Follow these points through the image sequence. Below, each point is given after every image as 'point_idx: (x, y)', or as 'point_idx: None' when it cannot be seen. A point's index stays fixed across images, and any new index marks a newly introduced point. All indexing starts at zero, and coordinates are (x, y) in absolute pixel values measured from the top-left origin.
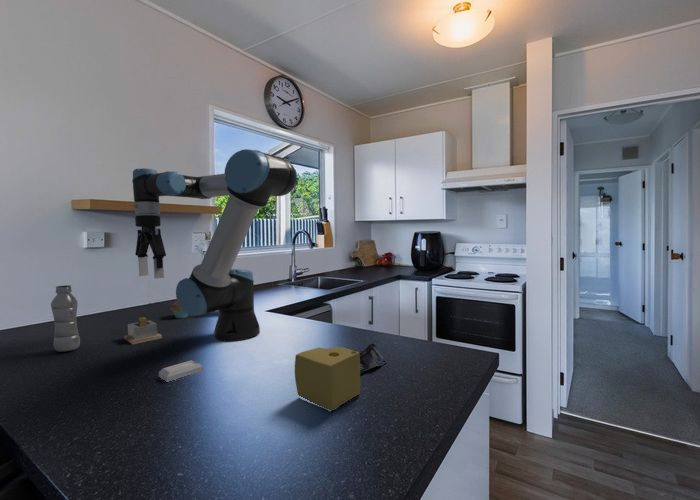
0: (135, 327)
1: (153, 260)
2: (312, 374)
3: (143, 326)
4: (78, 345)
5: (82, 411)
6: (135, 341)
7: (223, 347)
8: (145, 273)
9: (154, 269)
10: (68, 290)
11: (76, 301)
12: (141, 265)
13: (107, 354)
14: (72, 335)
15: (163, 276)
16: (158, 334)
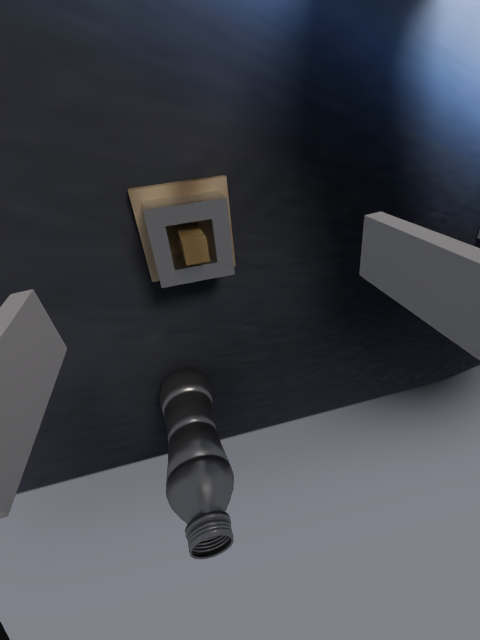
0: (230, 269)
1: (471, 354)
2: None
3: (231, 245)
4: (196, 371)
5: None
6: (233, 256)
7: (468, 27)
8: (42, 322)
9: (412, 304)
10: (225, 519)
11: (212, 468)
12: (32, 407)
13: (275, 312)
14: (209, 398)
15: (387, 217)
16: (207, 184)
